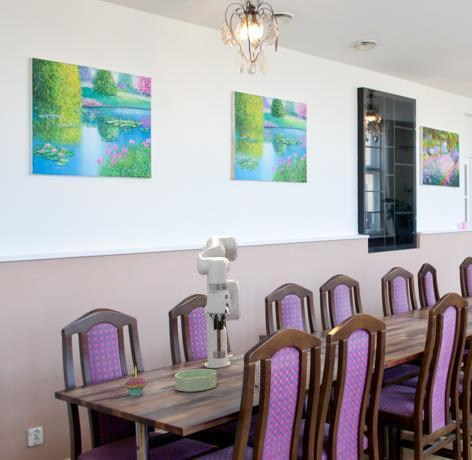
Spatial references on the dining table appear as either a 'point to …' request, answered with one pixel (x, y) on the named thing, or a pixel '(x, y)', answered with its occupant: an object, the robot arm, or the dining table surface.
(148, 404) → the dining table surface
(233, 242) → the robot arm
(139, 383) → the cupcake
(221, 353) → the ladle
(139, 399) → the dining table surface
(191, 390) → the bowl
